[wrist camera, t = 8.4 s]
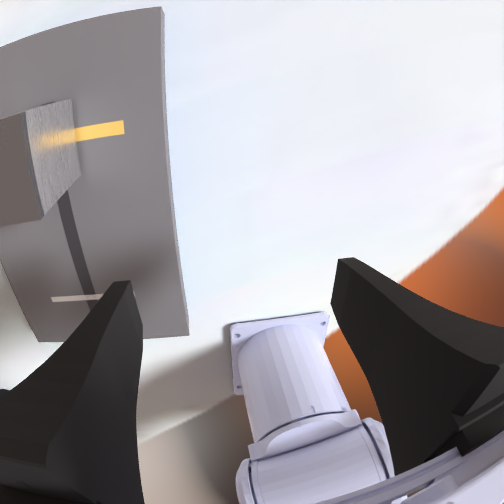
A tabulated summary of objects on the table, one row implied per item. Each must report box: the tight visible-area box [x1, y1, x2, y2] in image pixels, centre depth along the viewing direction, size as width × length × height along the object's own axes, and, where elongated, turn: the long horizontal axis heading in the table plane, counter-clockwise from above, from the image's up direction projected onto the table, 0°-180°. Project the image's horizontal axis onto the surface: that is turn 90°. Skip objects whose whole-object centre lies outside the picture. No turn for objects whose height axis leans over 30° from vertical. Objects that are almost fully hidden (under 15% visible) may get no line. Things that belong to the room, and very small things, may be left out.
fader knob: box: [0, 99, 81, 227], centre depth 11 cm, size 4×3×5 cm
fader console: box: [0, 7, 189, 342], centre depth 16 cm, size 20×12×2 cm, turn 0°
